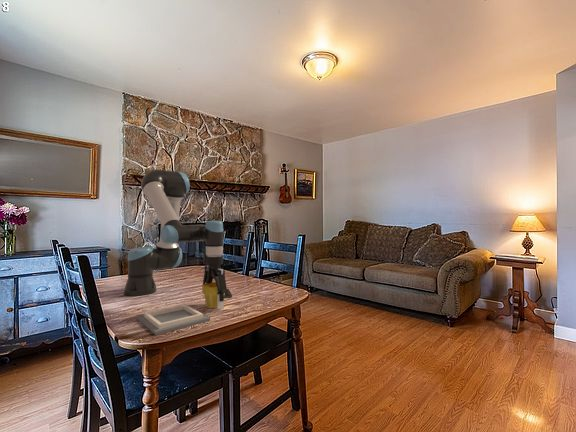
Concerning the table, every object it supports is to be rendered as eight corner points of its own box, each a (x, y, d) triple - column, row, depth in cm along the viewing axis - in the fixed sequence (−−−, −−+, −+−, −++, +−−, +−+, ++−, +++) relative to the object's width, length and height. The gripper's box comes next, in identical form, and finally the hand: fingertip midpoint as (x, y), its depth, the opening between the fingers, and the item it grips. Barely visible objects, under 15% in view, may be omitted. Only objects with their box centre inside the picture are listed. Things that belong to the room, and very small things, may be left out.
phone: (216, 297, 141) (213, 289, 156) (216, 299, 141) (213, 291, 156) (232, 296, 144) (228, 288, 158) (232, 298, 144) (228, 290, 158)
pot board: (137, 319, 113) (137, 312, 113) (187, 308, 127) (187, 302, 127) (155, 335, 99) (155, 327, 99) (209, 320, 112) (209, 314, 112)
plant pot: (208, 311, 123) (208, 288, 123) (198, 305, 130) (198, 284, 130) (230, 306, 129) (230, 284, 129) (219, 301, 137) (219, 280, 137)
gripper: (235, 257, 124) (235, 309, 124) (209, 252, 141) (209, 298, 141) (219, 259, 119) (219, 313, 119) (194, 253, 136) (194, 301, 136)
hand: (214, 305), depth 130 cm, fingers closed on plant pot, 10 cm apart
